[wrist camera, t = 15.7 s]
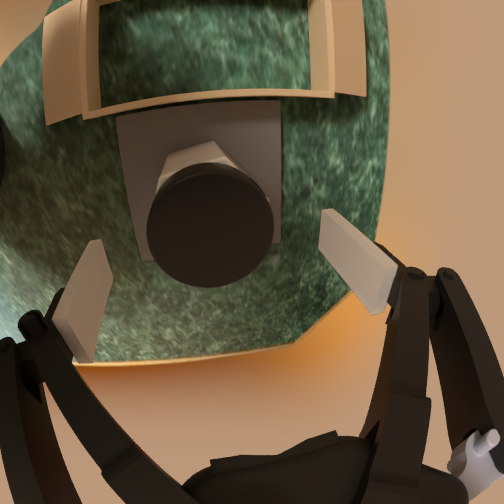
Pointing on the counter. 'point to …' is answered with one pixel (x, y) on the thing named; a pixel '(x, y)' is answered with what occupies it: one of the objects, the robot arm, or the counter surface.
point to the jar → (208, 218)
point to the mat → (193, 133)
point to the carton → (89, 100)
